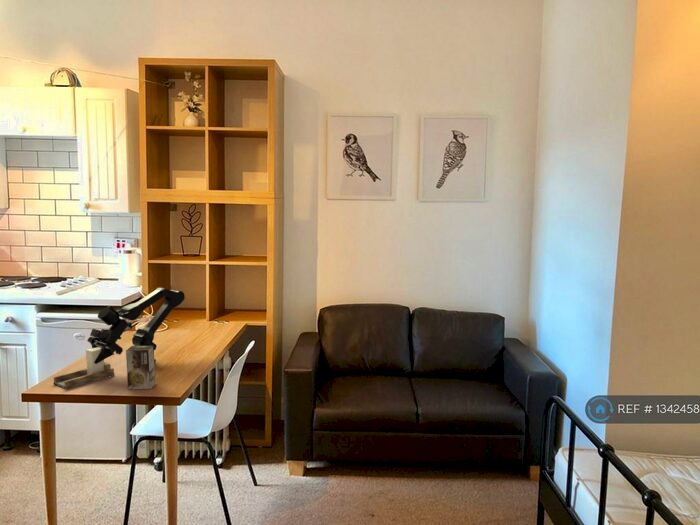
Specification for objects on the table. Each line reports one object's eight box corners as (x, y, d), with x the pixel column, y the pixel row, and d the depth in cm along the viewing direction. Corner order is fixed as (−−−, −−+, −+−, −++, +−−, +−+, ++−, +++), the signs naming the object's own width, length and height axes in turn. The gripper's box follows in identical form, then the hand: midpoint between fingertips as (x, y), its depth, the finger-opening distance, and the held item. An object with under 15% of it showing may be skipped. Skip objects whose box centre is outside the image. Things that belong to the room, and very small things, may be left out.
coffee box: (155, 383, 208) (154, 345, 206) (150, 389, 202) (148, 349, 200) (133, 383, 208) (131, 345, 206) (126, 389, 202) (125, 349, 200)
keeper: (98, 371, 219) (97, 347, 218) (104, 373, 217) (103, 348, 216) (87, 374, 215) (85, 349, 214) (92, 376, 213) (91, 351, 212)
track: (101, 371, 223) (100, 360, 223) (114, 375, 218) (113, 364, 217) (53, 384, 207) (53, 372, 206) (66, 389, 201) (65, 376, 201)
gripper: (90, 318, 222) (65, 348, 214) (114, 324, 212) (90, 356, 204) (108, 332, 229) (85, 362, 222) (132, 338, 219) (109, 370, 211)
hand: (92, 362), depth 214 cm, fingers closed on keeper, 4 cm apart
